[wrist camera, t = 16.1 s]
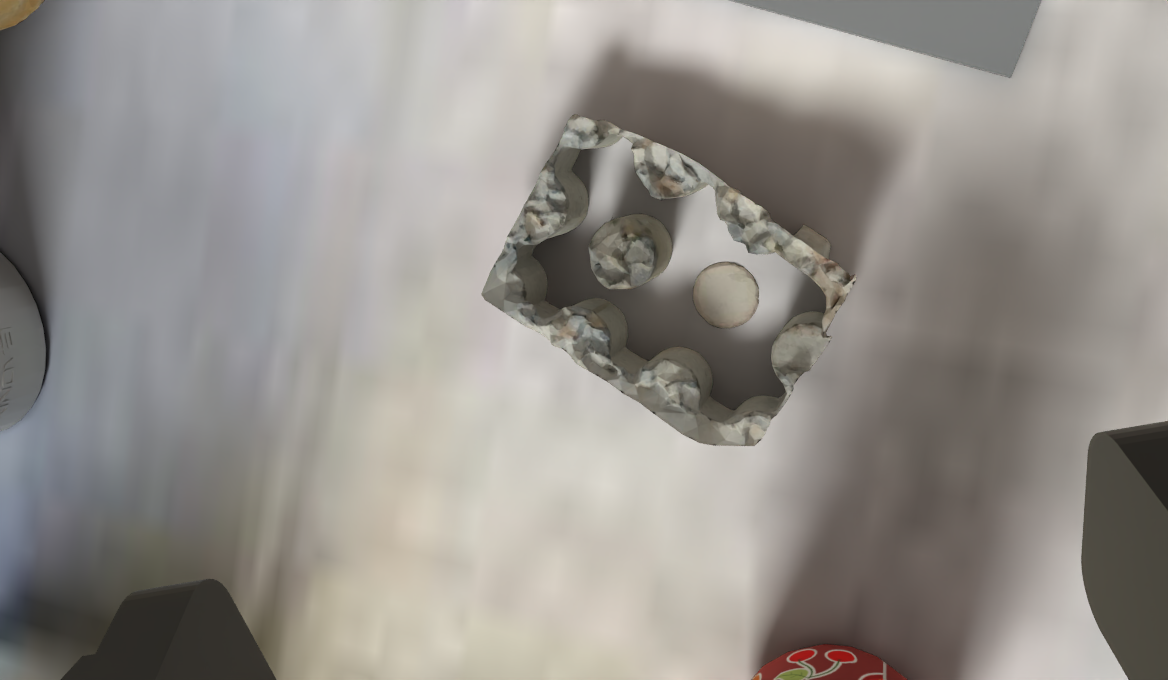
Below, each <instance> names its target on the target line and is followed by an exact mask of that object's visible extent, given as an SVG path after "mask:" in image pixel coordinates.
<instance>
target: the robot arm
mask: <svg viewBox="0 0 1168 680" xmlns="http://www.w3.org/2000/svg"><path fill="white" fill-rule="evenodd" d="M45 359H46V346H45V338H44V330H43V325H42V322H41V318H40V315H39V311H38V308H37V305H36V303H35V301H34V299H33V296H32V294H31V292H30V290H29V288H28V286H27V284H26V283H25V281H24V280H23V278H22V277H21V275H20V274H19V273H18V271H17V270H16V268H15V267H14V266H13V265H12V264H11V263H10V262H9V261H8V260H7V259H6V258H5V257H4V256H3V255H2V253H1V252H0V431H3V430H6V429H9V428H10V427H12V426H13V425H15V424H16V423H17V422H19V421H20V420H22V418H23V417H24V416H25V415H26V414H27V412H28V411H29V410H30V409H31V408H32V406H33V404H34V402H35V400H36V398H37V396H38V394H39V392H40V389H41V385H42V381H43V377H44V373H45ZM1081 564H1082V575H1083V581H1084V586H1085V590H1086V594H1087V598H1088V601H1089V604H1090V607H1091V610H1092V613H1093V615H1094V618H1095V620H1096V622H1097V625H1098V627H1099V629H1100V631H1101V632H1102V634H1103V636H1104V638H1105V639H1106V641H1107V643H1108V645H1109V646H1110V648H1111V650H1112V652H1113V653H1114V655H1115V657H1116V658H1117V660H1118V662H1119V664H1120V665H1121V667H1122V669H1123V670H1124V672H1125V674H1126V676H1127V677H1128V679H1129V680H1168V421H1165V422H1159V423H1153V424H1147V425H1141V426H1135V427H1129V428H1123V429H1117V430H1111V431H1105V432H1099V433H1097V434H1095V435H1094V436H1093V437H1092V439H1091V441H1090V445H1089V449H1088V460H1087V476H1086V492H1085V508H1084V524H1083V540H1082V556H1081ZM61 680H276V678H275V676H274V674H273V673H272V671H271V669H270V667H269V665H268V663H267V662H266V660H265V658H264V656H263V654H262V652H261V651H260V649H259V647H258V645H257V643H256V641H255V640H254V638H253V636H252V634H251V632H250V630H249V629H248V627H247V625H246V623H245V621H244V619H243V618H242V616H241V614H240V612H239V610H238V608H237V607H236V605H235V603H234V601H233V599H232V597H231V596H230V594H229V592H228V591H227V589H226V588H225V587H224V586H223V585H222V584H221V583H220V582H218V581H217V580H214V579H206V580H200V581H194V582H188V583H182V584H176V585H170V586H164V587H158V588H152V589H146V590H140V591H136V592H133V593H131V594H130V595H129V596H127V597H126V599H125V600H124V601H123V602H122V604H121V605H120V607H119V609H118V611H117V613H116V615H115V617H114V619H113V621H112V622H111V624H110V626H109V628H108V630H107V632H106V634H105V636H104V638H103V640H102V642H101V644H100V646H99V648H98V650H97V652H96V654H93V655H87V656H82V657H81V658H80V659H79V660H78V661H77V662H76V664H75V665H74V666H73V667H72V668H71V669H70V670H69V671H68V672H67V673H66V674H65V675H64V677H63V678H62V679H61Z"/></svg>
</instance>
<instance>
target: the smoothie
mask: <svg viewBox="0 0 1168 680" xmlns="http://www.w3.org/2000/svg"><path fill="white" fill-rule="evenodd" d="M752 680H908V679H906V678H905V677H904V676H902V675H901V674H900V673H898V672H897V671H896V670H894V669H893V668H892V667H890V666H889V665H888V664H886V663H885V662H884V661H882V660H881V659H879V658H878V657H877V656H874V655H871V654H869V653H866V652H864V651H861V650H859V649H856V648H853V647H849V646H840V645H830V644H822V645H817V646H812V647H807V648H802V649H799V650H794V651H789V652H787V653H785V654H783V655H782V656H780V657H778V658H776V659H774V660H773V661H771V662H769V663H767V664H766V665H764V666H762V668H761V669H760V670H759V671H758V673H757V674H756V675H755V676H754V677H753V679H752Z"/></svg>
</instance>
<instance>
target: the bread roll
mask: <svg viewBox="0 0 1168 680" xmlns="http://www.w3.org/2000/svg"><path fill="white" fill-rule="evenodd" d="M43 2H44V0H0V30H3V29H6V28H9V27H12V26H14V25H17V24H18V23H20V22H21V21H23V20H25V19H26V18H27V17H28V16H29V15H30V14H31V13H33V12H34V11H35V10H36V9H38V8H39V6H40V5H41V4H42V3H43Z"/></svg>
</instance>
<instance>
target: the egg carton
mask: <svg viewBox="0 0 1168 680" xmlns="http://www.w3.org/2000/svg"><path fill="white" fill-rule="evenodd" d="M622 137H625V138H626V139H628V140H629V141H630V142H632V143H633V146H632V148H631V150H632V152H633V153H634V166H635V172H636V173H637V175H638V176H639V178H640V179H641V181H642V183H643V184H644V186H645V187H646V188H647V189H648V190H649V193H650V196H652V197H654V198H657V199H659V200H663V199H666V198H678V197H684V196H687V195H690V194H692V193H695V192H697V191H699V190H701V189H702V188H704V187H706V186H707V185H708V184H709V185H710V186H712V187H713V188H714V190H715V196H716V206H717V214H718V216H719V218H720V220H722V221H725V223H726V224H727V226H728V231H729V233H730V234H731V236H732V238H733V239H734V241H738V242H741V243H744V244H745V245H746V247H747V250H748V253H752V254H771V253H774V252H776V253H777V254H778V255H780V256H781V257H782V258H784V259H785V260H786V261H788V262H789V263H790V264H792V265H793V266H795V267H796V268H797V269H799V270H800V271H802V272H803V273H805V274H806V275H807V276H809V277H810V278H811V279H812V280H813V281H814V282H815V283H816V284H817V285H818V286H819V287H820V288H821V289H822V291H823V293H824V294H825V296H826V310H825V313H821V312H816V311H811V312H804V313H802V314H799V315H797V316H795V317H793V318H792V319H791V320H790V321H789V322H788V323H787V324H786V325H785V326H784V327H783V329H782V330H781V332H780V333H779V334H778V336H777V337H776V339H775V341H774V343H773V346H772V352H771V361H772V366H773V369H774V371H775V374H776V376H777V377H778V378H779V380H780V381H781V382H782V383H783V385H784V387H785V390H786V392H785V393H784V394H783V396H781V397H778V398H776V397H771V396H766V395H765V396H755V397H751V398H750V399H748V400H746V401H744V402H743V403H742V404H741V405H740V406H739V407H738V408H737V409H736V410H731V409H729V408H727V407H725V406H723V405H721V404H720V403H718V402H716V401H715V400H714V399H712V398H711V397H710V393H711V390H712V387H713V377H712V372H711V369H710V367H709V365H708V363H707V362H706V360H705V359H704V358H703V357H702V356H701V355H700V354H699V353H698V352H696V351H693V350H691V349H689V348H684V347H671V348H668V349H666V350H663V351H661V353H659V354H658V355H656V356H655V357H654V358H653V359H651V360H650V361H647V360H645V359H643V358H641V357H640V356H638V355H637V354H635V353H633V352H631V351H630V350H628V349H627V348H626V342H627V338H628V327H627V322H626V319H625V317H624V315H623V313H622V312H621V311H620V310H619V309H618V308H617V307H616V306H615V305H614V304H612V303H611V302H609V301H607V300H604V299H600V298H591V299H586V300H584V301H582V302H579V303H577V304H575V305H573V306H569V307H564V308H562V309H561V310H560V309H558V308H556V307H555V306H553V305H551V304H550V303H548V302H547V301H546V299H545V298H546V294H547V287H548V283H547V276H546V273H545V271H544V269H543V267H542V266H541V265H540V263H539V262H538V261H537V260H536V259H535V258H534V257H533V255H532V254H533V251H534V248H535V247H536V245H537V244H539V243H541V242H542V241H544V240H545V239H547V238H551V237H555V236H558V235H562V234H565V233H567V232H569V231H571V230H573V229H575V228H577V227H578V226H579V225H580V224H581V223H582V222H583V220H584V219H585V217H586V215H587V211H588V206H589V200H588V193H587V190H586V188H585V185H584V184H583V182H582V181H581V180H580V178H578V176H576V175H575V174H574V173H573V171H572V168H573V165H574V163H575V161H576V159H577V157H578V154H579V153H580V151H581V149H592V148H602V147H608V146H611V145H613V144H615V143H616V142H618V141H619V140H620V139H621V138H622ZM612 217H613V216H612ZM830 247H831V245H830V243H829V242H828V240H827V239H826V238H825V237H823V236H821V235H820V234H818V233H816V232H815V231H814V230H812V229H811V228H809V227H807V226H805V225H804V224H803V226H802V228H801V229H800V230H799V231H798V232H797V233H796V234H795V235H794V236H793V235H791V234H790V233H789V232H788V231H786V230H785V229H784V228H782V227H781V226H780V225H778V224H777V223H776V222H774V221H773V220H772V219H771V218H770V213H769V212H767V211H766V210H765V209H764V208H762V207H761V206H759V205H757V204H755V203H754V202H752V201H751V200H749V199H748V198H746V197H745V196H743V195H741V191H739V190H737V189H734V188H732V187H730V186H728V185H727V184H726V183H725V182H724V181H722V180H721V179H720V178H718V177H717V176H716V175H714V174H713V173H712V172H710V171H709V170H707V169H706V168H705V167H703V166H702V165H701V164H699V163H698V162H696V161H694V160H692V159H690V158H689V157H687V156H685V155H683V154H681V153H679V152H677V151H675V150H672V149H670V148H668V147H665V146H663V145H661V144H658V143H656V142H654V141H651V140H649V139H647V138H644V137H642V136H640V135H637V134H635V133H632V132H628V131H625V130H623V129H620V128H618V127H616V126H615V125H613V124H612V123H610V122H608V121H605V120H597V121H595V120H591V119H588V118H584V117H581V116H579V115H578V114H574V115H572V116H571V118H570V119H569V120H568V122H567V124H566V127H565V128H564V134H563V136H562V138H561V140H560V142H559V144H558V146H557V148H556V150H555V151H554V153H553V155H552V156H551V158H550V159H549V160H548V161H547V163H546V164H545V166H544V168H543V169H542V171H541V173H540V176H539V179H538V181H537V183H536V185H535V187H534V189H533V191H532V193H531V194H530V196H529V198H528V200H527V201H526V203H525V204H524V207H523V209H522V211H521V213H520V215H519V217H518V219H517V221H516V222H515V224H514V226H513V228H512V229H511V231H510V233H509V235H508V236H507V240H506V242H505V246H504V249H503V251H502V253H501V255H500V256H499V258H498V260H497V261H496V263H495V265H494V266H493V268H492V270H491V272H490V275H489V277H488V279H487V282H486V284H485V287H484V289H483V291H482V296H483V297H484V299H485V300H486V301H488V302H489V303H491V304H492V305H494V306H495V307H497V308H498V309H500V310H501V311H503V312H504V313H506V314H507V315H509V316H511V317H512V318H514V319H515V320H517V321H518V322H520V323H521V324H523V325H524V326H526V327H528V328H531V329H533V330H535V331H537V332H538V333H540V334H541V335H543V336H544V337H546V338H547V339H548V340H550V341H551V344H552V345H553V346H555V347H558V348H562V349H563V350H565V351H566V352H567V353H568V354H569V355H570V356H571V357H572V359H573V360H574V361H575V363H576V364H578V365H579V366H581V367H583V368H584V369H586V370H588V371H590V372H592V373H593V374H595V375H597V376H599V377H600V378H602V379H604V380H605V381H607V382H608V383H610V384H611V385H612V386H614V387H615V388H617V389H618V390H619V391H621V392H622V393H623V394H625V395H627V396H629V397H631V398H632V399H634V400H636V401H638V402H639V403H641V404H642V405H643V406H645V407H646V408H647V409H649V410H650V411H651V412H652V413H654V414H655V415H657V416H658V417H659V418H661V419H662V420H663V421H665V422H666V423H668V424H669V425H670V426H672V427H673V428H674V429H676V430H677V431H679V432H680V433H681V434H683V435H685V436H687V437H689V438H691V439H693V440H695V441H697V442H699V443H703V444H709V445H724V446H755V445H756V444H757V443H758V442H759V441H760V440H761V439H762V438H763V436H764V434H765V433H766V430H767V428H768V427H769V425H770V421H771V419H772V418H773V417H775V416H776V415H777V414H778V413H779V411H780V410H781V409H782V407H783V406H784V404H785V403H786V401H787V400H788V398H789V397H790V395H791V393H792V391H793V385H794V384H795V382H796V381H797V379H798V378H799V377H800V376H801V375H802V374H803V373H804V372H806V371H809V370H810V369H811V367H812V366H813V365H814V364H815V362H816V361H817V359H818V358H819V356H820V355H821V354H822V352H823V351H824V349H825V348H826V346H827V345H828V343H829V342H830V340H831V338H832V336H827V335H826V332H827V330H828V328H829V326H830V324H831V322H832V320H833V318H834V316H835V314H836V312H837V311H838V309H839V308H840V306H841V305H842V304H843V302H844V301H845V299H846V296H847V295H848V293H849V291H850V289H851V288H852V286H853V284H854V283H855V281H856V275H852V276H850V275H849V273H847V272H846V271H844V270H843V269H842V268H841V267H840V266H839V265H838V264H837V263H836V262H834V261H832V260H829V252H830ZM588 248H589V254H590V264H591V269H592V271H593V273H594V274H595V276H596V278H597V279H598V281H599V282H600V283H601V284H602V285H603V286H604V287H606V288H608V289H633V288H636V287H639V286H641V285H643V284H644V283H646V282H648V281H650V280H652V279H653V278H655V277H657V276H659V275H660V274H661V273H662V272H663V271H664V270H665V269H666V267H667V266H668V263H669V261H670V259H671V254H672V248H673V247H672V241H671V238H670V235H669V233H668V231H667V230H666V228H665V227H664V226H663V224H662V223H661V222H660V221H658V220H657V219H655V218H653V217H652V216H648V215H645V214H631V215H628V216H625V217H619V218H616V219H613V220H611V221H609V222H607V223H605V224H604V225H603V226H602V227H601V228H600V229H599V230H598V231H597V232H596V233H595V235H594V236H593V238H592V240H591V242H590V244H589V246H588ZM758 297H759V291H758V286H757V284H756V282H755V279H754V277H753V276H752V275H751V274H750V273H749V272H748V271H747V270H746V269H745V268H744V267H742V266H738V265H736V264H735V263H733V264H731V263H730V262H723V263H717V264H714V265H710V266H709V267H707V268H706V269H704V270H703V271H702V272H701V273H700V275H699V276H698V277H697V279H696V282H695V285H694V287H693V301H694V304H695V307H696V309H697V311H698V312H699V313H700V315H701V316H702V317H703V318H704V319H705V320H706V321H707V322H708V323H709V324H710V325H713V326H715V327H718V328H733V327H736V326H739V325H742V324H744V323H746V322H747V321H748V320H750V318H751V317H752V316H753V314H754V313H755V312H756V309H757V306H758V303H759V300H758Z"/></svg>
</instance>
